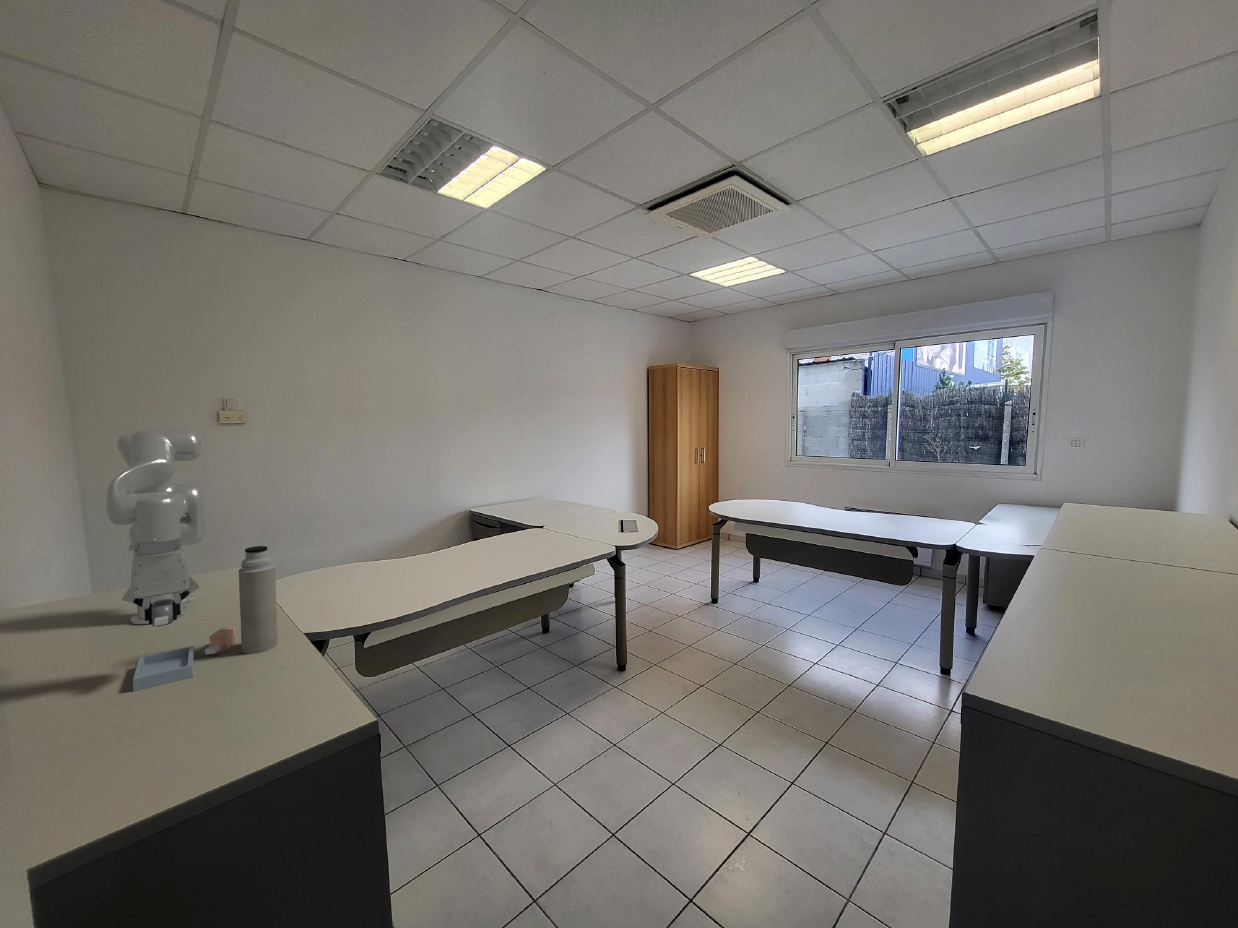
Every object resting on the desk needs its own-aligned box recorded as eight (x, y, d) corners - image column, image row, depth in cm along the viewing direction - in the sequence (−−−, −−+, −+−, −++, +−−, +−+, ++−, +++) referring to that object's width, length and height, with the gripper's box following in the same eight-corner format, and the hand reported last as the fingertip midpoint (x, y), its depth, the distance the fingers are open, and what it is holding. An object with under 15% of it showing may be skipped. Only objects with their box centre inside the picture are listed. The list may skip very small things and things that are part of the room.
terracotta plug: (223, 642, 133) (222, 626, 133) (238, 640, 134) (237, 625, 134) (202, 658, 124) (201, 642, 123) (218, 656, 125) (217, 640, 124)
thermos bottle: (267, 638, 136) (263, 542, 134) (284, 644, 132) (280, 545, 131) (235, 649, 129) (231, 548, 127) (252, 656, 125) (248, 552, 123)
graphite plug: (154, 618, 117) (153, 600, 117) (174, 614, 120) (173, 597, 119) (150, 630, 110) (149, 612, 109) (171, 626, 112) (171, 608, 112)
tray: (140, 667, 118) (140, 656, 118) (194, 655, 125) (193, 645, 125) (133, 691, 108) (132, 679, 108) (192, 676, 114) (191, 665, 114)
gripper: (107, 555, 106) (111, 634, 107) (205, 544, 117) (208, 617, 118) (112, 549, 112) (116, 624, 113) (205, 539, 123) (208, 608, 124)
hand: (163, 619), depth 116 cm, fingers closed on graphite plug, 3 cm apart
